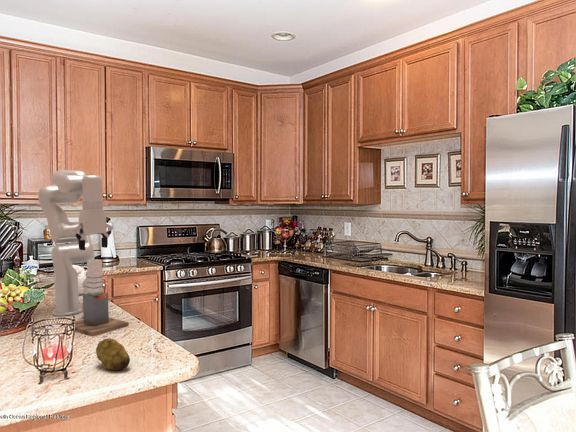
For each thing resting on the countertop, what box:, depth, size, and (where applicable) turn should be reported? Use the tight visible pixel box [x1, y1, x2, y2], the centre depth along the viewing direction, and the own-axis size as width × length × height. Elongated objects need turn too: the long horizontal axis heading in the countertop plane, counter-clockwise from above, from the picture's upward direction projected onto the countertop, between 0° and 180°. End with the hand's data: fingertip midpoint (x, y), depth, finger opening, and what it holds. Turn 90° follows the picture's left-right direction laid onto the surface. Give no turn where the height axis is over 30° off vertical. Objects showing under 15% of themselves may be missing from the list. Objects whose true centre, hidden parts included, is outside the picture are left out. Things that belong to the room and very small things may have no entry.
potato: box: [95, 337, 131, 371], centre depth 138 cm, size 8×13×8 cm, turn 34°
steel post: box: [86, 258, 104, 296], centre depth 180 cm, size 4×4×20 cm
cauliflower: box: [72, 264, 87, 296], centre depth 243 cm, size 20×18×16 cm
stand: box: [74, 292, 130, 337], centre depth 180 cm, size 20×16×14 cm
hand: (93, 248), depth 180 cm, fingers open, 9 cm apart
